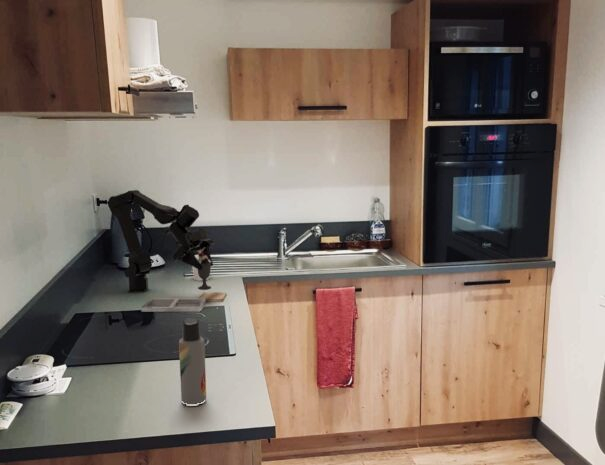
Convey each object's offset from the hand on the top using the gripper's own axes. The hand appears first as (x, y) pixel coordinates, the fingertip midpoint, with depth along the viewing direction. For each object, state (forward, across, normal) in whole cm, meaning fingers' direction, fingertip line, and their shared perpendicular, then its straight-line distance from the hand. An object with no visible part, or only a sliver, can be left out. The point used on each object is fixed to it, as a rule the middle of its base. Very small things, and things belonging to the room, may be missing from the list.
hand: (206, 267), depth 202 cm
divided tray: (+4, -10, +14) cm, 18 cm away
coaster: (+8, +5, +10) cm, 14 cm away
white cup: (-7, +26, +26) cm, 38 cm away
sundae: (+5, 0, +7) cm, 8 cm away
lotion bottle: (+41, -65, -23) cm, 80 cm away
